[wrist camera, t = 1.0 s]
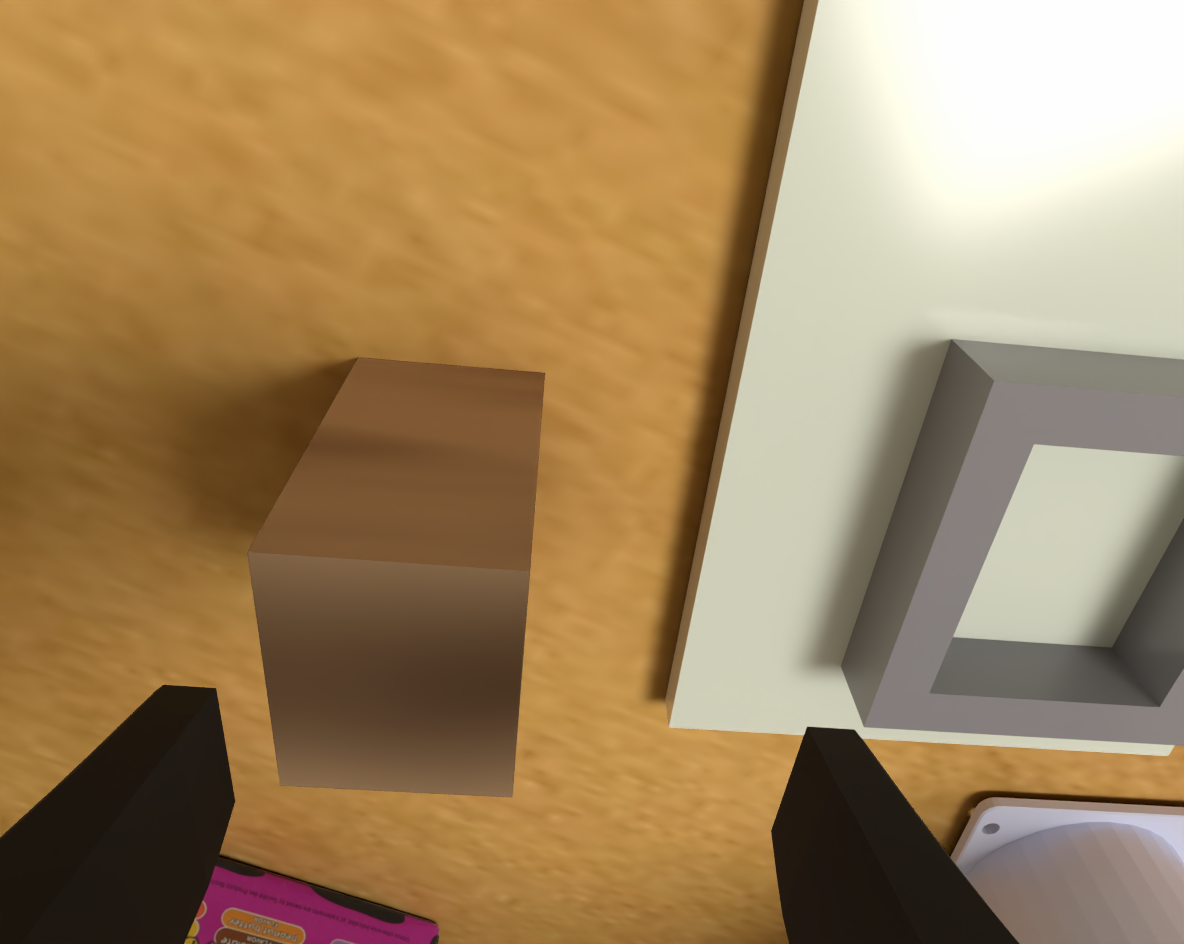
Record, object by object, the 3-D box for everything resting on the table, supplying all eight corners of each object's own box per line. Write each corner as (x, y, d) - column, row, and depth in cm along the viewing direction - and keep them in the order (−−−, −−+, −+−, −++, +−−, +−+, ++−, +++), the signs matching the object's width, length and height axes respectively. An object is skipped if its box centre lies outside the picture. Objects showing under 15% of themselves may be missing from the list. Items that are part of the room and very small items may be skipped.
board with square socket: (1146, 727, 24) (1214, 818, 21) (665, 699, 23) (676, 790, 21) (1587, 21, 15) (1799, 31, 12) (817, -71, 14) (872, -81, 11)
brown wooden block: (530, 557, 21) (512, 797, 15) (367, 546, 20) (280, 785, 14) (544, 372, 18) (529, 571, 12) (358, 357, 18) (247, 552, 12)
